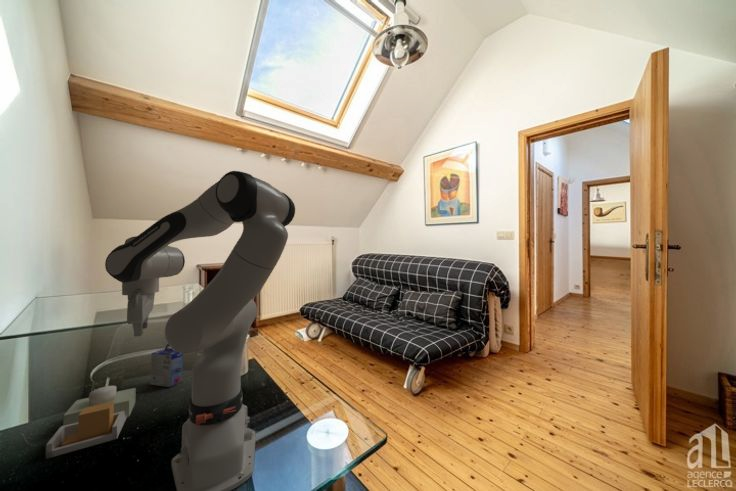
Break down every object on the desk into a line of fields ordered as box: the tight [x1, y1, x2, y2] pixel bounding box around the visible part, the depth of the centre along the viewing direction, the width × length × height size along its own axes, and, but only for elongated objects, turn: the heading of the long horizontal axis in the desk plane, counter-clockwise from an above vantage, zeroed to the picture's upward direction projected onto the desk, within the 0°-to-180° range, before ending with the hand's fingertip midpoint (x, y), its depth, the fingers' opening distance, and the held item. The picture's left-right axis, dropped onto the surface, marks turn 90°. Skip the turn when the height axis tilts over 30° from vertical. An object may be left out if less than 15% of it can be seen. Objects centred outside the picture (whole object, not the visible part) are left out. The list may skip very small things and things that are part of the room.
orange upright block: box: [60, 401, 114, 447], centre depth 72 cm, size 4×9×8 cm, turn 122°
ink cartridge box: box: [149, 343, 184, 388], centre depth 102 cm, size 10×6×14 cm, turn 78°
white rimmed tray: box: [45, 385, 137, 460], centre depth 77 cm, size 20×14×8 cm
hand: (141, 331), depth 82 cm, fingers open, 8 cm apart
